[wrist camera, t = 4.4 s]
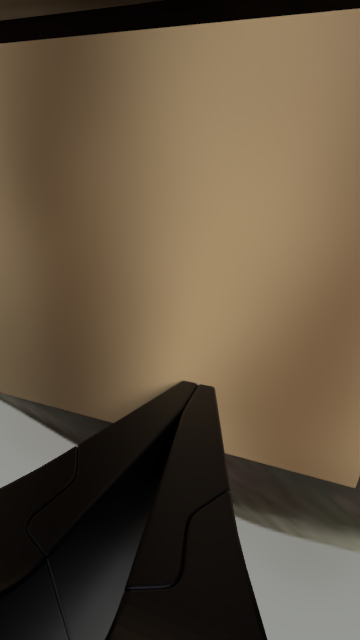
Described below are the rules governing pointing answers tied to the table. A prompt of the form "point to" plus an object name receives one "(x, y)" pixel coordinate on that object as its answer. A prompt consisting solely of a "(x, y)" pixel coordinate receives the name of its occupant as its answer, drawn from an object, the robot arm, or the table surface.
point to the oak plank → (189, 228)
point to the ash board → (56, 6)
